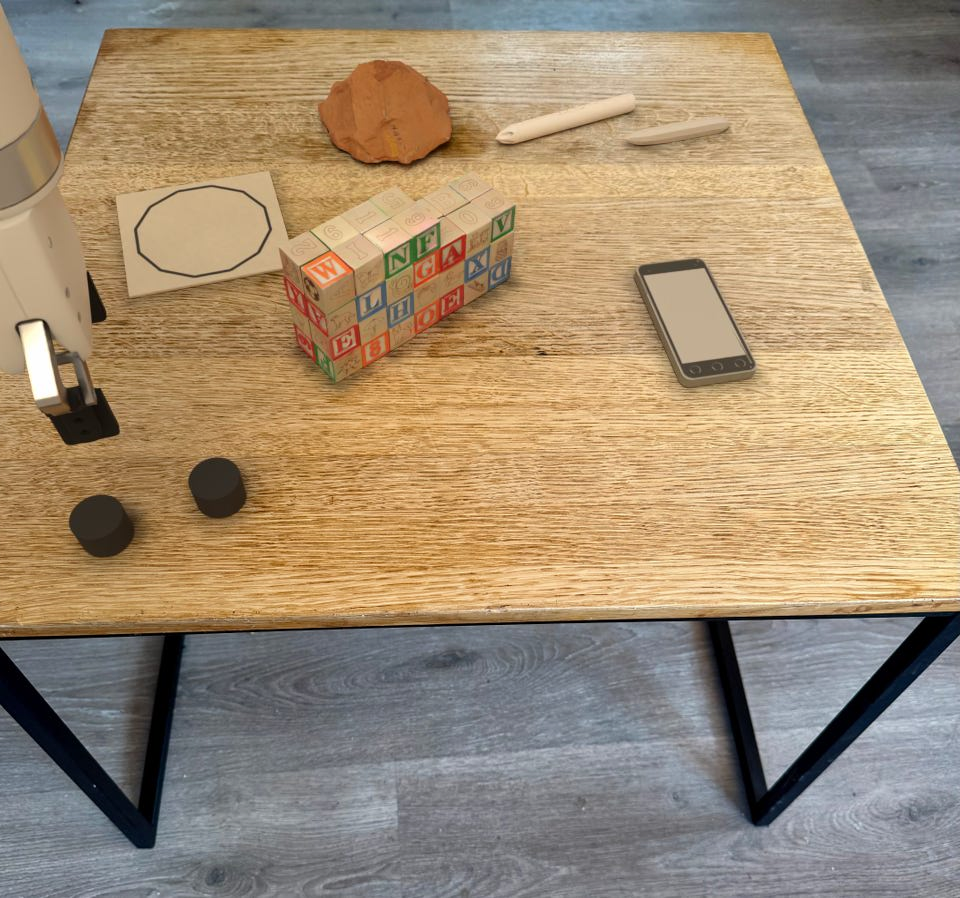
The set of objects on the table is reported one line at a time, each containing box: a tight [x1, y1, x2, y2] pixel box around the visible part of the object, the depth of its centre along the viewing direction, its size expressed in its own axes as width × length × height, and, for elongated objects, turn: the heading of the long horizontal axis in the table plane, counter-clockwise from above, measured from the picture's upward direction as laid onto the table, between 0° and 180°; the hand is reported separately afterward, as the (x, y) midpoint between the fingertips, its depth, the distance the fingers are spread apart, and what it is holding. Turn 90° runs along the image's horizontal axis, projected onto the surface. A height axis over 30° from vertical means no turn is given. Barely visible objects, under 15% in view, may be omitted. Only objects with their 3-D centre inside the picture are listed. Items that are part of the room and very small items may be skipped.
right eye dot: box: [187, 456, 247, 519], centre depth 70 cm, size 4×4×3 cm
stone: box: [317, 59, 453, 165], centre depth 97 cm, size 15×15×10 cm
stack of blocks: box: [279, 171, 517, 383], centre depth 79 cm, size 21×6×12 cm, turn 131°
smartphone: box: [633, 257, 758, 388], centre depth 84 cm, size 7×1×15 cm
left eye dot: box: [68, 493, 135, 558], centre depth 68 cm, size 4×4×3 cm
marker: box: [495, 92, 637, 145], centre depth 100 cm, size 18×2×2 cm, turn 116°
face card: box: [114, 170, 290, 299], centre depth 89 cm, size 16×15×1 cm
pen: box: [622, 115, 732, 146], centre depth 101 cm, size 2×14×2 cm, turn 110°
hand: (88, 376), depth 56 cm, fingers open, 9 cm apart
